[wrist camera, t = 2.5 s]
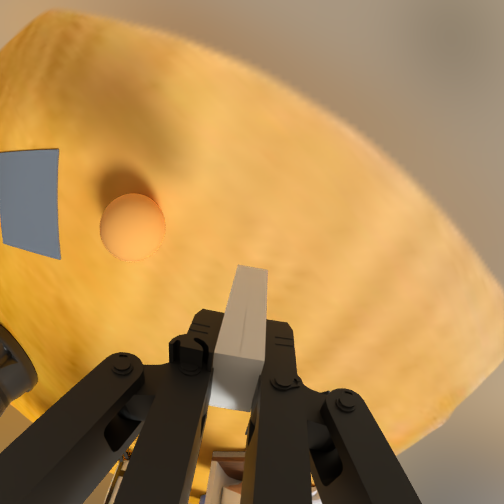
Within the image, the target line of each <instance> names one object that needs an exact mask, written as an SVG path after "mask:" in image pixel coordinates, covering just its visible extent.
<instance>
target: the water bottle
mask: <svg viewBox="0 0 504 504" xmlns="http://www.w3.org/2000/svg"><path fill="white" fill-rule="evenodd" d="M205 498H206V495H201V496H200V502H199V504H205Z"/></svg>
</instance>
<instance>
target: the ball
mask: <svg viewBox="0 0 504 504" xmlns="http://www.w3.org/2000/svg"><path fill="white" fill-rule="evenodd" d="M100 235H101V239H102V242H103V244H104V246H105V248H106V249H107V250H108V251H109V253H111V254H112V255H113V256H114V257H116V258H118V259H120V260H122V261H127V262H137V261H142V260H144V259H146V258H148V257H150V256H151V255H153V254H154V253H155V252H156V251H157V249H158V248H159V247H160V245H161V243H162V241H163V239H164V235H165V219H164V216H163V213H162V211H161V209H160V208H159V206H158V205H157V204H156V203H155V202H154V201H153V200H152V199H150V198H149V197H147V196H145V195H142V194H136V193H131V194H125V195H122V196H120V197H118V198H116V199H114V200H113V201H112V202H111V203H110V204H109V205H108V206H107V207H106V209H105V211H104V212H103V215H102V218H101V221H100Z"/></svg>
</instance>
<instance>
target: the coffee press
mask: <svg viewBox="0 0 504 504" xmlns="http://www.w3.org/2000/svg"><path fill="white" fill-rule="evenodd" d="M124 456H125V458H126V460H124V461H123V456H121V457H120V459H119V460H120V463H119V464H118V466H117V469H116V471H115V474H114V476H113V479H112V481H111V484H110V487H109V489H108V492H107V495H106V498H105V500H104V503H103V504H113V503H114V500H115V497H116V494H117V492H118V489H119V486H120V483H121V481H122V478H123V475H124V473H125V470H126V468H127V465H128V462H129V460H130V458H129V457H128V454H127V452H126V451H125V452H124Z"/></svg>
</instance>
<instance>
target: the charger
mask: <svg viewBox="0 0 504 504" xmlns="http://www.w3.org/2000/svg"><path fill="white" fill-rule="evenodd" d="M311 488H312V504H322V502H321V499H320V497H319V494H318V491H317V488H316V486H315V487H311Z"/></svg>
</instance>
